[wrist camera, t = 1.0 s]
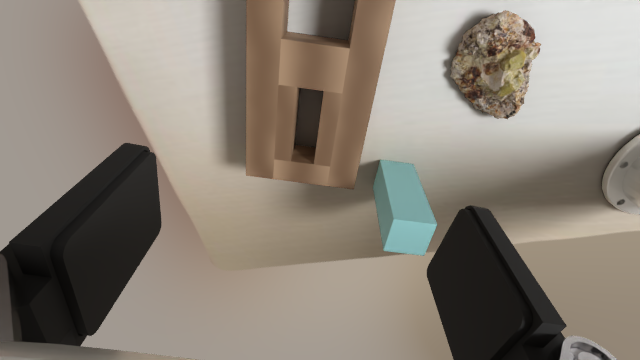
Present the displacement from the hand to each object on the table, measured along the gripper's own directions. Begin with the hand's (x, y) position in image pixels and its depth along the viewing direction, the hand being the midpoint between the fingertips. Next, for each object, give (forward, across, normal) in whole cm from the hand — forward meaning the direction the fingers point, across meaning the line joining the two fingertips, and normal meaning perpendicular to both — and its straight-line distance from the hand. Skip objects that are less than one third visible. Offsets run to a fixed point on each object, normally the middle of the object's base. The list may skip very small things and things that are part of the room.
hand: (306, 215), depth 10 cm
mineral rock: (+26, -17, -2) cm, 31 cm away
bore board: (+26, 0, +2) cm, 26 cm away
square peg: (+26, -12, +13) cm, 31 cm away
